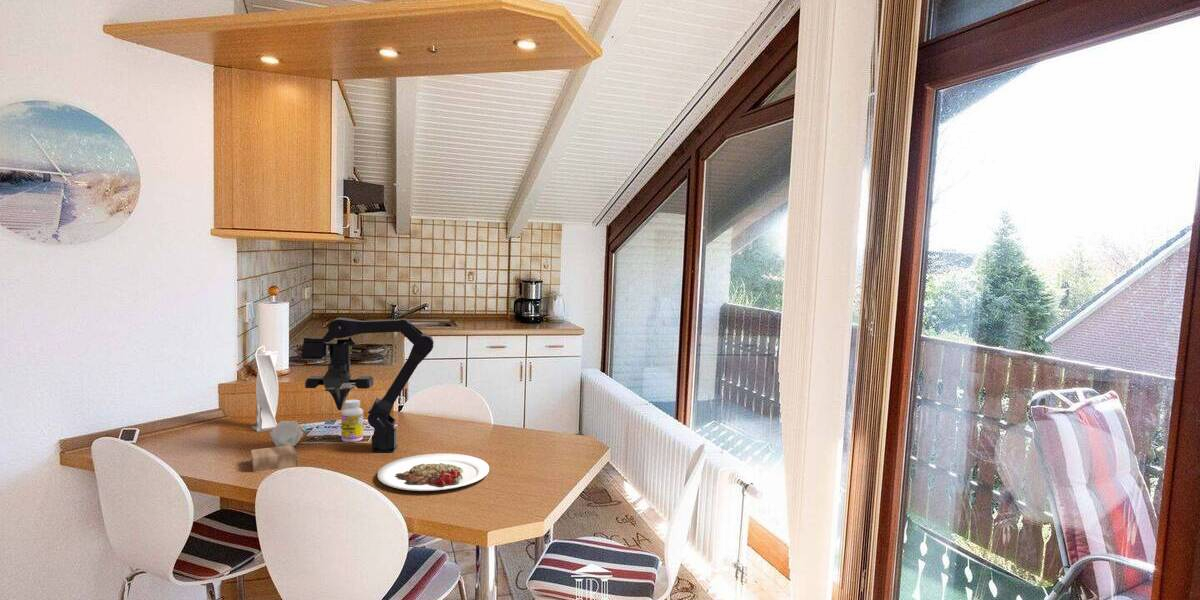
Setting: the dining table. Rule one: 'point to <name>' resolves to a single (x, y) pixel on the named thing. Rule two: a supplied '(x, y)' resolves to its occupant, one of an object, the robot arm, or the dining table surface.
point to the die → (286, 433)
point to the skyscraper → (266, 390)
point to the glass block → (273, 458)
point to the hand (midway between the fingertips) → (339, 410)
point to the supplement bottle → (352, 422)
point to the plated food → (433, 472)
